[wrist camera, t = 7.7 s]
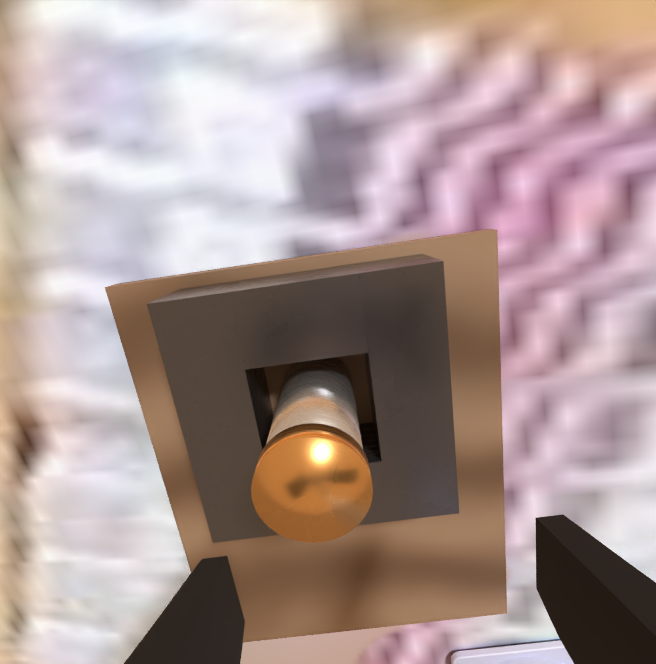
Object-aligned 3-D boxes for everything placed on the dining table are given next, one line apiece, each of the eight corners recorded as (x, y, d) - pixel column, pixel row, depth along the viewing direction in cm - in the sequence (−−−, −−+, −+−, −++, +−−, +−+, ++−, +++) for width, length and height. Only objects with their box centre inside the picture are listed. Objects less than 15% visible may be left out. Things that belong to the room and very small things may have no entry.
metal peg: (358, 412, 18) (379, 535, 11) (288, 421, 18) (263, 549, 11) (349, 345, 17) (365, 430, 10) (275, 355, 17) (240, 447, 10)
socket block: (438, 467, 18) (459, 513, 16) (230, 493, 19) (212, 542, 16) (422, 253, 16) (443, 261, 13) (179, 288, 16) (146, 303, 13)
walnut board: (498, 595, 22) (506, 613, 21) (218, 627, 22) (213, 645, 21) (487, 229, 16) (497, 229, 15) (117, 283, 17) (104, 287, 16)
